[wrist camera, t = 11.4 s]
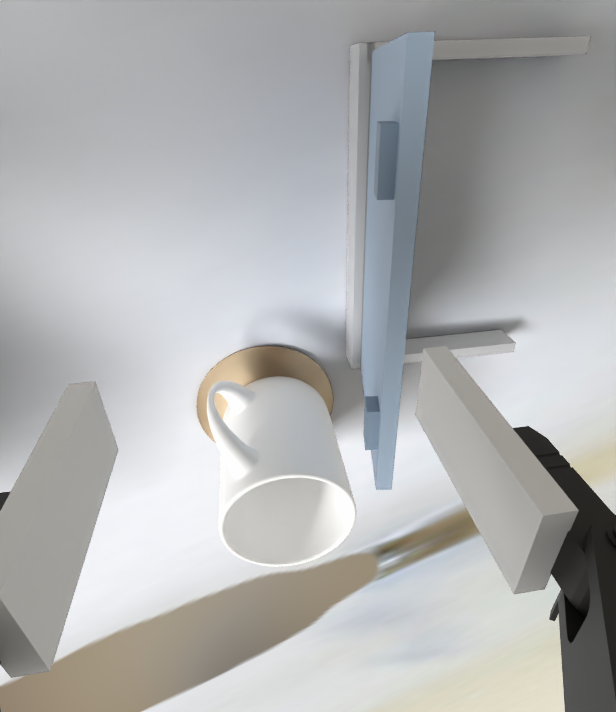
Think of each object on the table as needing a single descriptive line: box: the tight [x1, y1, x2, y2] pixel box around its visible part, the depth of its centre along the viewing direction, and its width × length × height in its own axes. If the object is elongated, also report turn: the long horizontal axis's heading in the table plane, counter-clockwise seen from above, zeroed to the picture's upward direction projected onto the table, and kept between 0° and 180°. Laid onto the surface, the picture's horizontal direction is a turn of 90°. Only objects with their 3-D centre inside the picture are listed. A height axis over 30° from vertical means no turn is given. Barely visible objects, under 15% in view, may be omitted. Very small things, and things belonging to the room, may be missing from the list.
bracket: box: [346, 36, 591, 369], centre depth 30 cm, size 13×20×2 cm, turn 2°
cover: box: [360, 31, 435, 490], centre depth 23 cm, size 12×19×1 cm
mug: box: [207, 376, 356, 566], centre depth 32 cm, size 9×12×11 cm
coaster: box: [197, 346, 333, 443], centre depth 37 cm, size 11×11×1 cm
